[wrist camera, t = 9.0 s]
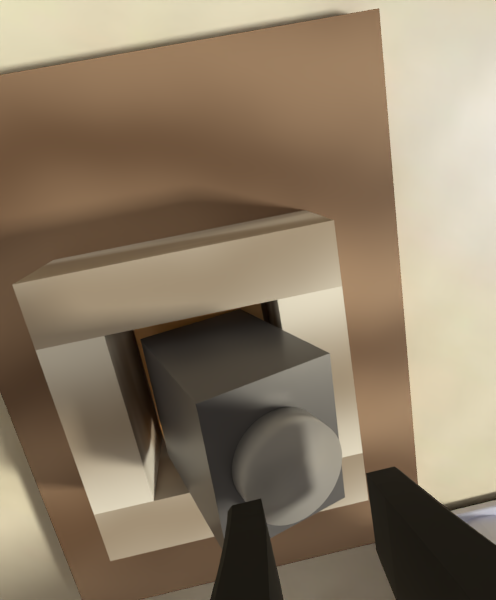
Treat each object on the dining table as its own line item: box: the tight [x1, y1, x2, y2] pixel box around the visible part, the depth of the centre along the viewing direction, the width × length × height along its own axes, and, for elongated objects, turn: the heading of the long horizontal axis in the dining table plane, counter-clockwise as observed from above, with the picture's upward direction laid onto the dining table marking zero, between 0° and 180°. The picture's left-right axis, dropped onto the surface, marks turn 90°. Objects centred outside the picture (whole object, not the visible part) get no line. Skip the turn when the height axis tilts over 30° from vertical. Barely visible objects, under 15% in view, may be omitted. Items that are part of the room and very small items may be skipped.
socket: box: [0, 9, 418, 600], centre depth 16 cm, size 22×16×5 cm
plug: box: [140, 309, 345, 549], centre depth 13 cm, size 4×4×6 cm
